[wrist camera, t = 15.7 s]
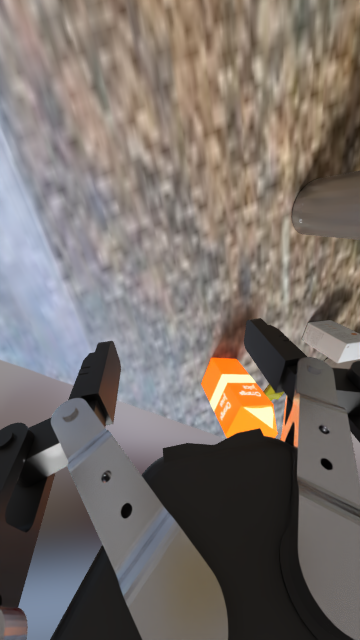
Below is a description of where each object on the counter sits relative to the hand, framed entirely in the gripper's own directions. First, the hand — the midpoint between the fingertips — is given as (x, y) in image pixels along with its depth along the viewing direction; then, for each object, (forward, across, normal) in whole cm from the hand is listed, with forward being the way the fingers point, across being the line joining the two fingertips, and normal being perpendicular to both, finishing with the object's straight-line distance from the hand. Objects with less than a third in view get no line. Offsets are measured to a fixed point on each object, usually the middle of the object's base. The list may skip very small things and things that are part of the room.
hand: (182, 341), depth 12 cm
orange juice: (+25, -12, +32) cm, 43 cm away
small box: (+29, -40, +26) cm, 56 cm away
